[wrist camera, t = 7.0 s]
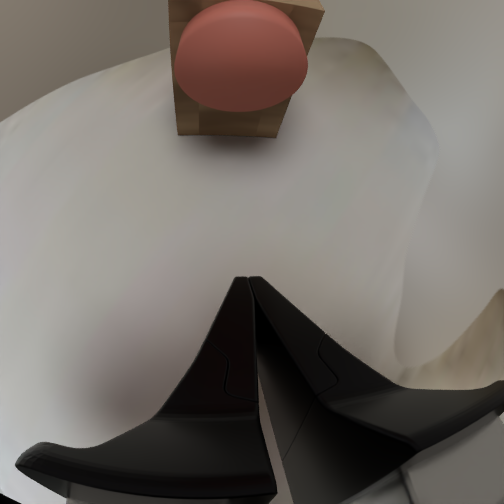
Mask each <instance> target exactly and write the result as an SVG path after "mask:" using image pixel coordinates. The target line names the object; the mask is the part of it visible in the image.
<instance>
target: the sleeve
mask: <svg viewBox="0 0 504 504" xmlns="http://www.w3.org/2000/svg"><path fill="white" fill-rule="evenodd" d="M225 1H230V0H168V5H169V6H168V7H169V31H170V51H171V66H172V79H173V91H174V102H175V113H176V122H177V132H178V135H234V136H256V137H271V138H276V136H277V133H278V131H279V128H280V125H281V123H282V120H283V117H284V115H285V112H286V110H287V107H288V104H289V102H290V99H291V96H292V95H291V96H290V97H289V98H287V99H286V100H284V101H282V102H280V103H278V104H276V105H274V106H271V107H268V108H265V109H261V110H256V111H248V112H230V111H222V110H217V109H213V108H210V107H207V106H204V105H202V104H200V103H198V102H196V101H195V100H193V99H192V98H190V97H189V96H188V95H187V94H186V93H185V92H184V91H183V90H182V89H181V87H180V86H179V84H178V82H177V80H176V77H175V72H174V63H175V59H176V54H177V50H178V46H179V42H180V38H181V35H182V33H183V30H184V28H185V27H186V25H187V24H188V23H189V21H190V20H191V19H192V18H193V17H194V16H196V15H197V14H198V13H199V12H201V11H202V10H204V9H206V8H208V7H210V6H212V5H215V4H218V3H221V2H225ZM253 1H259V2H262V3H266V4H269V5H271V6H274V7H275V8H277V9H279V10H281V11H282V12H283V13H285V14H286V15H287V16H288V17H289V18H290V19H291V20H292V21H293V22H294V24H295V25H296V27H297V29H298V31H299V34H300V37H301V40H302V43H303V46H304V49H305V53H306V56H307V55H308V52H309V50H310V47H311V45H312V42H313V40H314V37H315V35H316V32H317V30H318V27H319V25H320V22H321V20H322V17H323V15H324V12H325V10H324V8H323V7H322V5H321V3H320V1H319V0H253Z"/></svg>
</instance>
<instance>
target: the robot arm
mask: <svg viewBox="0 0 504 504" xmlns="http://www.w3.org/2000/svg"><path fill="white" fill-rule="evenodd" d="M258 375H259V378H260V382H261V386H262V390H263V394H264V398H265V401H266V405H267V409H268V413H269V416H270V420H271V424H272V428H273V431H274V435H275V439H276V442H277V446H278V449H279V453H280V457H281V460H282V461H283V462H282V464H283V468H284V471H285V475H286V478H287V482H288V485H289V488H290V492H291V495H292V499H293V502H294V504H504V424H503V422H502V421H501V419H500V417H499V416H500V415H501V414H502V413H503V412H504V380H499V381H496V382H494V383H493V384H491V385H489V386H487V387H484V388H480V389H474V390H427V389H410V388H405V387H402V386H399V385H397V384H395V383H393V382H392V381H390V380H388V379H387V378H385V377H384V376H382V375H381V374H380V373H378V372H377V371H375V370H374V369H372V368H371V367H369V366H368V365H366V364H365V363H363V362H362V361H361V360H359V359H358V358H356V357H355V356H354V355H352V354H351V353H349V352H348V351H347V350H345V349H344V348H343V347H342V346H341V345H339V344H338V343H337V342H336V341H334V340H333V339H332V338H331V337H330V336H329V335H327V334H325V332H324V331H323V330H322V329H320V328H319V327H318V326H317V325H316V324H315V323H314V322H312V321H311V320H310V319H309V318H308V317H307V316H306V315H304V314H303V313H302V312H301V311H300V310H299V309H298V308H296V307H295V306H294V305H293V304H292V303H291V302H290V301H288V300H287V299H286V298H285V297H284V296H283V295H282V294H280V293H279V292H278V291H277V290H276V289H275V288H274V287H273V286H271V285H270V284H269V283H268V282H267V281H266V280H265V279H263V278H262V277H261V276H250V277H249V278H248V277H235V278H234V280H233V282H232V284H231V286H230V288H229V290H228V292H227V294H226V296H225V298H224V301H223V303H222V305H221V307H220V309H219V311H218V313H217V315H216V317H215V319H214V321H213V324H212V326H211V328H210V330H209V332H208V334H207V336H206V338H205V341H204V342H203V344H202V346H201V348H200V350H199V352H198V354H197V356H196V358H195V360H194V362H193V363H192V365H191V366H190V368H189V369H188V371H187V372H186V374H185V375H184V377H183V378H182V380H181V381H180V382H179V384H178V385H177V387H176V388H175V389H174V391H173V392H172V394H171V395H170V396H169V398H168V399H167V401H166V402H165V403H164V405H163V406H162V407H161V409H160V410H159V411H158V412H157V413H156V414H155V415H154V416H153V417H152V418H151V419H149V420H148V421H146V422H145V423H143V424H141V425H139V426H137V427H135V428H133V429H131V430H129V431H127V432H125V433H123V434H121V435H119V436H117V437H115V438H113V439H111V440H109V441H107V442H105V443H103V444H100V445H98V446H95V447H90V448H71V447H66V446H62V445H58V444H54V443H50V442H40V443H37V444H35V445H34V446H32V447H30V448H29V449H27V450H26V451H25V452H24V453H22V454H21V456H20V457H19V458H18V460H17V461H16V463H15V466H16V468H17V469H18V470H19V471H20V472H22V473H23V474H25V475H26V476H28V477H29V478H31V479H33V480H34V481H36V482H37V483H39V484H41V485H43V486H44V487H46V488H48V489H50V490H51V491H53V492H55V493H57V494H59V495H61V496H63V497H65V498H67V501H66V504H269V502H270V501H271V500H272V499H273V498H274V497H275V496H276V495H277V485H276V480H275V476H274V473H273V469H272V465H271V462H270V458H269V454H268V450H267V447H266V443H265V439H264V435H263V431H262V427H261V423H260V416H259V404H258V403H259V398H258ZM0 504H21V503H19V502H17V501H15V500H13V499H11V498H9V497H7V496H5V495H3V494H1V493H0Z"/></svg>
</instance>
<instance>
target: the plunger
mask: <svg viewBox="0 0 504 504" xmlns="http://www.w3.org/2000/svg"><path fill="white" fill-rule="evenodd" d="M307 68H308V61H307V56H306V53H305V49H304V46H303V43H302V40H301V37H300V34H299V31H298V29H297V27H296V25H295V24H294V22H293V21H292V20H291V19H290V18H289V17H288V16H287V15H286V14H285V13H283V12H282V11H281V10H279V9H277V8H275V7H274V6H271V5H269V4H266V3H262V2H259V1H253V0H230V1H225V2H221V3H218V4H215V5H212V6H210V7H208V8H206V9H204V10H202V11H201V12H199V13H198V14H197V15H196V16H194V17H193V18H192V19H191V20H190V21H189V23H188V24H187V25H186V27H185V28H184V30H183V33H182V35H181V38H180V42H179V46H178V50H177V54H176V59H175V63H174V72H175V77H176V80H177V82H178V84H179V86H180V87H181V89H182V90H183V91H184V92H185V93H186V94H187V95H188V96H189V97H190V98H192V99H193V100H195V101H196V102H198V103H200V104H202V105H204V106H207V107H210V108H213V109H217V110H222V111H230V112H248V111H256V110H261V109H265V108H268V107H271V106H274V105H276V104H278V103H280V102H282V101H284V100H286V99H287V98H289V97H290V96H291V95H293V94H294V93H295V92H296V91H297V90H298V89H299V87H300V86H301V85H302V83H303V81H304V79H305V77H306V74H307Z"/></svg>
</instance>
